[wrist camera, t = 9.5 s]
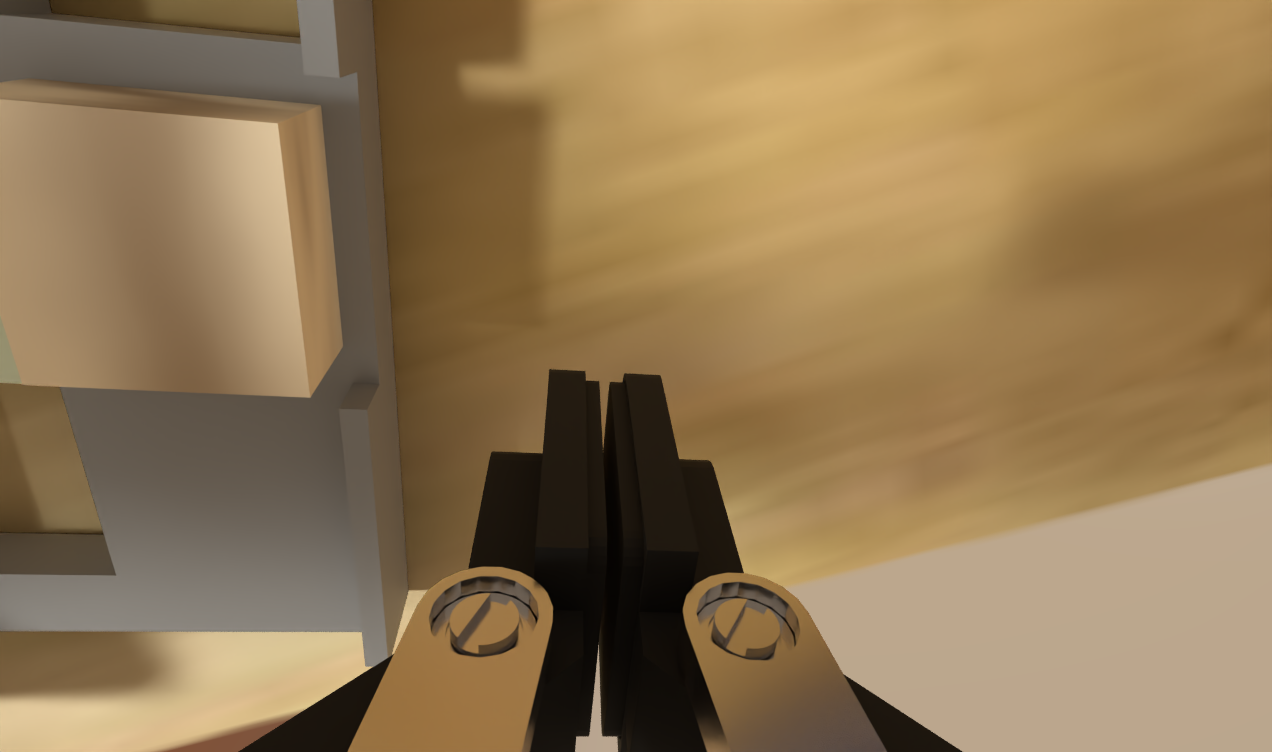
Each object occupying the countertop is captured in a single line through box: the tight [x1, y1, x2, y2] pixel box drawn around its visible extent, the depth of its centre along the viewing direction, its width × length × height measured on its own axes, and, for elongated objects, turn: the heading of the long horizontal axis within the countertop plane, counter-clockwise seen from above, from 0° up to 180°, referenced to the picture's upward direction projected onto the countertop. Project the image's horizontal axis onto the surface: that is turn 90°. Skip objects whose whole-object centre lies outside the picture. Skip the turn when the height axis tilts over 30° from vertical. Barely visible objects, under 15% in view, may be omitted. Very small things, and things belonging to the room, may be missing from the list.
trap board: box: [0, 0, 408, 667], centre depth 19 cm, size 16×27×4 cm, turn 174°
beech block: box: [0, 78, 343, 398], centre depth 17 cm, size 6×6×3 cm
